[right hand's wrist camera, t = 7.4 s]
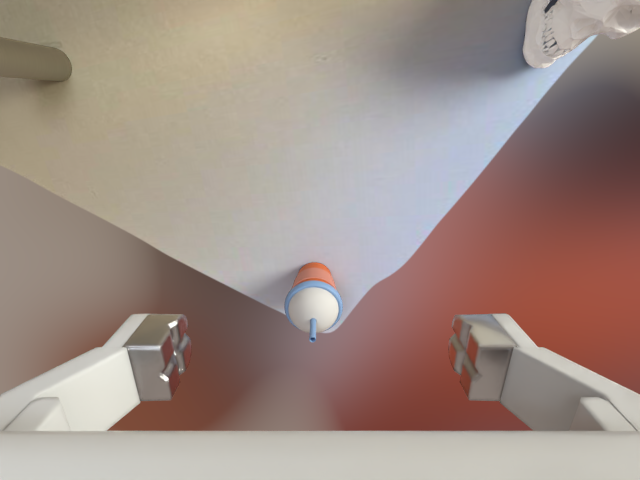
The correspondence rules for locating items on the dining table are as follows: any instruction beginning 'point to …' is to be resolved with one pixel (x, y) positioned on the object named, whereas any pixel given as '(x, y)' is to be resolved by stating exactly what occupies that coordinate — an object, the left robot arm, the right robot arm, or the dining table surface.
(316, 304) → the cup with straw
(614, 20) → the skull
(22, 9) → the dining table surface
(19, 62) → the jar
